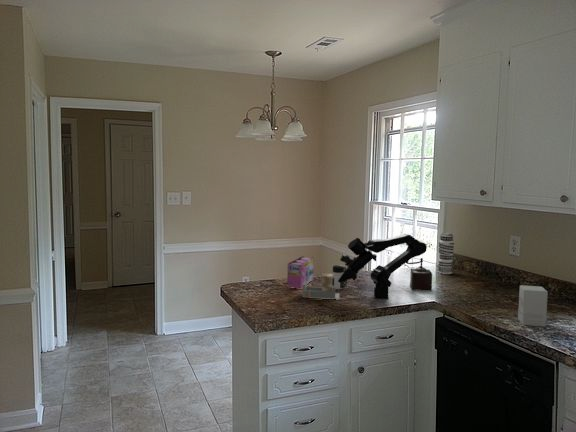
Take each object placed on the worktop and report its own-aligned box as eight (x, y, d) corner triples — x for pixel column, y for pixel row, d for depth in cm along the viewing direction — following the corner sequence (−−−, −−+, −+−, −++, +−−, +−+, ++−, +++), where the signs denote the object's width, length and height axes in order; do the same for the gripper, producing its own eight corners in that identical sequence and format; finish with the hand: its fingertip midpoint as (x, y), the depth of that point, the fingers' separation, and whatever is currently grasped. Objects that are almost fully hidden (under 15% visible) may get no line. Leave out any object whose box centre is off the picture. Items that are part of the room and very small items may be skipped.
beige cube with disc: (334, 293, 235) (334, 273, 234) (333, 296, 229) (334, 276, 228) (322, 292, 236) (322, 273, 235) (321, 296, 230) (322, 276, 229)
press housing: (339, 294, 237) (339, 281, 236) (339, 300, 227) (339, 286, 226) (304, 293, 239) (304, 280, 238) (302, 298, 229) (302, 285, 229)
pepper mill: (428, 285, 258) (430, 253, 256) (432, 290, 247) (433, 257, 245) (400, 284, 260) (401, 252, 258) (402, 289, 249) (403, 256, 247)
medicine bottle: (340, 289, 247) (340, 267, 246) (328, 287, 251) (329, 265, 250) (347, 287, 253) (347, 265, 251) (335, 285, 257) (336, 263, 256)
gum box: (301, 278, 271) (302, 255, 270) (314, 280, 269) (315, 257, 267) (286, 288, 249) (287, 263, 248) (300, 289, 246) (301, 264, 245)
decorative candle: (449, 271, 297) (451, 232, 294) (455, 274, 288) (457, 234, 285) (435, 270, 297) (437, 232, 294) (440, 274, 287) (442, 234, 285)
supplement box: (540, 320, 200) (542, 286, 198) (546, 327, 191) (548, 291, 189) (517, 318, 202) (519, 284, 200) (522, 325, 193) (524, 289, 192)
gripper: (350, 245, 238) (327, 266, 241) (350, 252, 220) (326, 274, 222) (365, 261, 238) (342, 281, 240) (366, 269, 220) (342, 290, 222)
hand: (338, 281), depth 231 cm, fingers closed
